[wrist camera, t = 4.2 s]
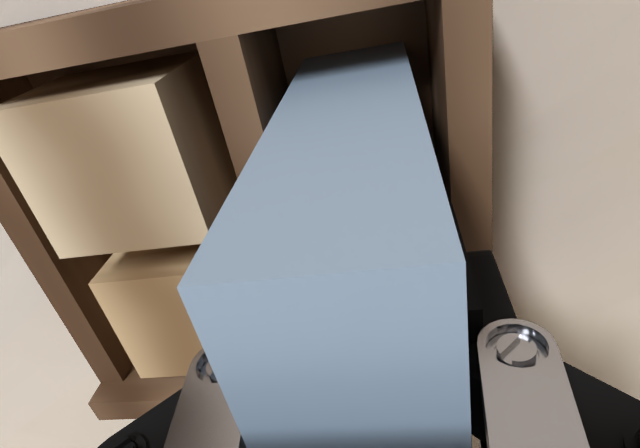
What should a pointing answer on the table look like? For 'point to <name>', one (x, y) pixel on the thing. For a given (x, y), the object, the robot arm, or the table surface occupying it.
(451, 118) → the rack
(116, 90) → the offcut
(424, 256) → the panel
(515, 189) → the table surface
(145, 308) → the offcut
